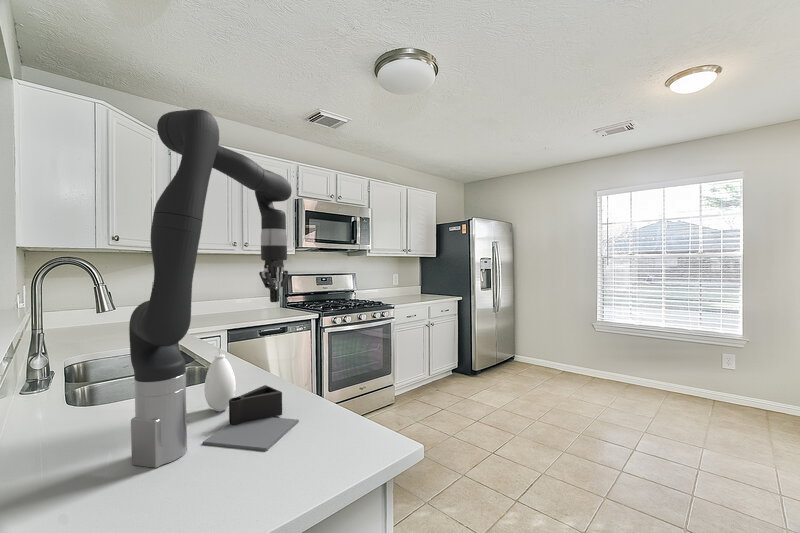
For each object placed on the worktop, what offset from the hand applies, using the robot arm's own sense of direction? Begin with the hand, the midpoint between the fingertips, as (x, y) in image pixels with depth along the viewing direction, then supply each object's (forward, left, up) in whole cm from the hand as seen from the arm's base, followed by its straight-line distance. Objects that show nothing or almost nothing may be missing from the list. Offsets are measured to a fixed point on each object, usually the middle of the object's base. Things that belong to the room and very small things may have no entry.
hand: (274, 301), depth 114 cm
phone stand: (-10, -6, -25) cm, 28 cm away
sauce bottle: (-12, +10, -29) cm, 33 cm away
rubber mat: (-23, -7, -29) cm, 37 cm away
